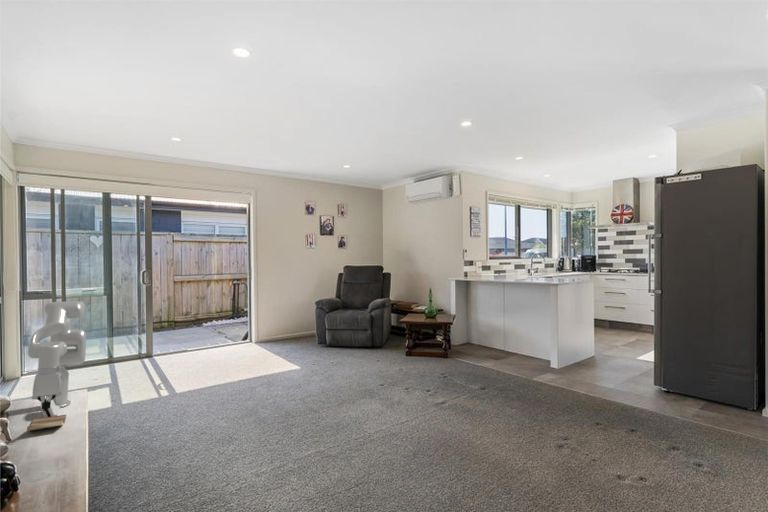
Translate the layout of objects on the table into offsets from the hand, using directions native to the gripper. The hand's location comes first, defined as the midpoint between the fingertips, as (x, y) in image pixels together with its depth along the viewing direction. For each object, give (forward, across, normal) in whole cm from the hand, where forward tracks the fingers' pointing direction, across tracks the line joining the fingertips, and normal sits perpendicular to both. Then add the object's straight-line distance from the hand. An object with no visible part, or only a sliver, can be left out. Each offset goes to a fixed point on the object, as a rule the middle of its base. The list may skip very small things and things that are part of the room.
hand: (45, 410), depth 183 cm
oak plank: (+9, 0, -4) cm, 10 cm away
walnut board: (+11, 0, -16) cm, 20 cm away
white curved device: (+11, +1, -31) cm, 33 cm away
